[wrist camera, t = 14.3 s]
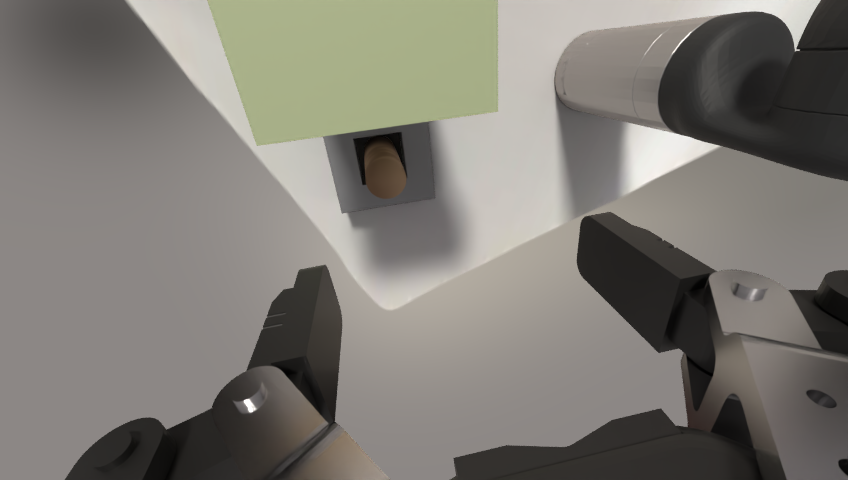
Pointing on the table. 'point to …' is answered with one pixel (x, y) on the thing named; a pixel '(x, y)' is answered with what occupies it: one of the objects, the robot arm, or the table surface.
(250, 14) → the socket base
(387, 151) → the peg
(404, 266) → the table surface
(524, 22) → the table surface
